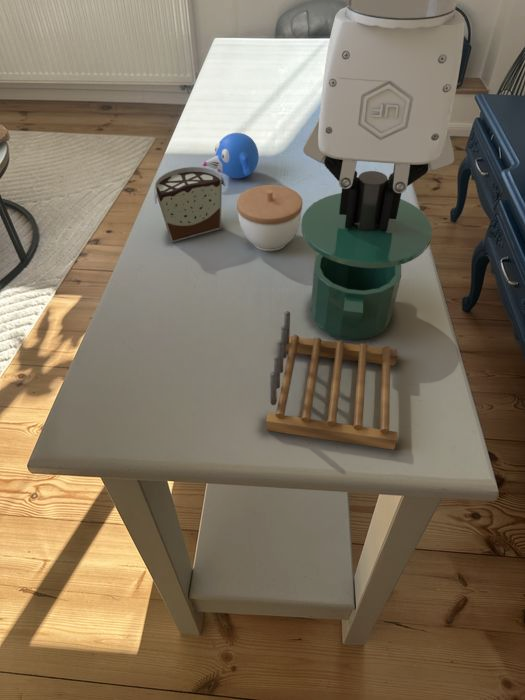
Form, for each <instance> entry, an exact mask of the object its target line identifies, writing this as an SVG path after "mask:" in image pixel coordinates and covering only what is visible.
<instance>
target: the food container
mask: <svg viewBox="0 0 525 700" xmlns="http://www.w3.org/2000/svg"><path fill="white" fill-rule="evenodd" d="M223 187H226V183H225V180H224V178H223V176H222V173H220V172H218V171H216V170H215V169H213V168H209V167H208V168H207V167H204V166H187V167H180V168H176V169H172V170H169V171H167V172H165V173H163V174H162V175H161V176H159V178H158V179H156V181H155V183H154V188H153V201H154V204H155V205H156V204H157V203H158V205H159V207H160V210H161V214H162V217H163V220H164V223H165V226H166V229H167V233H168V236H169V240H170V242H171V243H176V242H179V241H183V240H186V239H189V238H193V237H197V236H201V235H204V234H207V233H211V232H214V231H217V230H221V229H222V199H223V198H222V196H223V195H222V193H223V192H222V191H223ZM157 200H158V202H157Z"/></svg>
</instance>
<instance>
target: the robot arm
mask: <svg viewBox="0 0 525 700" xmlns="http://www.w3.org/2000/svg"><path fill="white" fill-rule="evenodd" d="M457 3H458V0H346V3H345V7H343V8H341V9H339V10H338V12H337V13H336V14H335V16H334V20H333V24H332V28H331V32H330V36H329V41H328V46H327V52H326V56H325V65H324V73H323V80H322V81H323V82H322V88H321V89H322V90H321V97H320V98H321V99H320V106H319V107H320V108H319V117H318V118H317V120H316V122H315V124H314V126H313V128H312V130H311V131H310V133H309V135H308V136H307V139H306V141H305V143H304V147H303V154H305V155H306V156H307V157H309V158H311V159H312V160H315V161H316V162H318V163H319V164H320V163H321V164H323V165H324V167H325V168H326V169H327V170H328V171H329V172H330V173H331V174H332V176H333V177H334V178H335V179H336V180H337V182H338V185H339V187H340V188H341V192H340V193H341V201H340V211H339V214H340V215H346V222H345V228H350V227H352V226H353V218H354V211H355V204H356V196H357V189H358V177H359V176H358V172H357V170H356V168H357V164H358V163H357V162H367V163H378V164H379V163H381V164H393V171H392V172H391V173H390V174H389V176H388V180H387V186H386V191H385V196H384V202H383V207H382V213H381V218H380V225H379V229H381V231H387V228H388V222H389V219H396V217H397V213H398V208H399V203H400V199H402V193H404V192H405V191H406V190H407V188H408V186H410V185H412V184H413V183H415V182H417V181H418V179H420V178H422V177H423V176H425V175H426V174H427V173H428V172H433V171H436V170H439V169H442V168H445V167H447V166H450V165H452V164H453V163H454V161H455V155H454V154H455V152H454V148H453V144H452V141H451V135H450V131H449V126H450V121H451V117H452V113H453V112H452V111H453V106H454V101H455V97H456V92H457V86H458V80H459V74H460V69H461V62H462V56H463V47H464V39H465V38H464V37H465V23H466V22H465V20H466V18H465V17H464V16H463V15H462V13H461V12H459V10H457V9H456V7H457Z"/></svg>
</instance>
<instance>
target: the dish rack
mask: <svg viewBox="0 0 525 700" xmlns="http://www.w3.org/2000/svg"><path fill="white" fill-rule="evenodd" d="M283 321H284V323H283V324H282V326H281V327H280V329H281V330H280V339H279V340H278V341H277V354H276V355H274V358H273V371H272V372H271V373H270V375H269V376H270V377H269V381H270V383H269V384H270V387H269V388H270V393H269V395H270V396H269V397H270V405H271V406H275V405H277V406H276V412H275V413H272V412H268V413H267V416H266V420H265V421H266V422H265V425H266V429H265V430H266V431H268V432H275V433H282V434H286V435H288V434H289V435H295V436H300V437H306V438H314V439H319V440H320V439H321V440H327V441H332V442H341V443H347V444H353V445H354V444H355V445H359V446H367V447H373V448H380V449H387V450H395V448H396V445H397V442H398V431H394V430H390V410H391V407H390V405H391V402H390V401H391V400H390V399H391V366H392V367H394V366H396V363H397V359H398V349H396V348H391V347H390V346H388V345H385V346H383V347H379V346H371V345H367V344H366V343H360V344H355V343H347V342H344V340H337V341H332V340H331V341H330V340H323V339H322V338H320V337H315V338H308V337H307V338H306V337H300V336H299V335H298V334H293V335H292V336H290V332H291V329H290V328H291V312H290V311H288V310H287V311H284V320H283ZM287 353H288V354H287ZM297 354H299V355H306V356H307V355H308V356H311V357H310V362H309V368H308V375H307V381H306V386H305V391H304V400H303V405H302V412H301V417H299V416H292V415H285V414H286V409H287V403H288V400H289V399H288V398H289V393H290V387H291V383H292V377H293V372H294V367H295V362H296V357H297ZM320 357H321V358H322V357H323V358H330V359H334V361H333V370H332V379H331V387H330V395H329V404H328V411H327V420H318V419H314V418H313V419H311V416H312V410H313V409H312V408H313V401H314V395H315V387H316V381H317V375H318V368H319V360H320ZM286 358H287V359H286ZM284 359H286V362H285V363H286V364H285V367H284ZM343 360H344V361H345V360H346V361H354V362H357V371H356V373H357V374H356V375H357V376H356V385H355V386H356V387H355V401H354V412H353V413H354V414H353V424H346V423H339V422H337V418H338V417H337V416H338V408H339V397H340V388H341V379H342V370H343ZM367 363H370V364H377V365H381V384H380V385H381V388H380V389H381V392H380V418H379V419H380V421H379V422H380V423H379V428H374V427H368V426H367V427H366V426H363V425H364V405H365V392H366V391H365V390H366V389H365V388H366V372H367V370H366V369H367ZM283 372H284V373H283ZM281 374H283V378H282V382H281ZM280 387H281V388H280ZM278 389H280V392H279V397H278V402H277V390H278Z"/></svg>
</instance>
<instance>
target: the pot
mask: <svg viewBox="0 0 525 700" xmlns="http://www.w3.org/2000/svg"><path fill="white" fill-rule="evenodd" d="M312 276H313V277H312V288H311V289H312V290H311V301H310V314H311V317H312V319H313V321H314V323H315V324H316V326H317V327H318V328H319V329H321V330H322V331H323V332H324V333H326V334H327V335H330V336H331V337H332V336H333V337H335V338H338V339H342V340H347V341H362V340H367V339H368V340H369V339H371V338H373V337H377V336H378V335H379V334H381V333H382V332H384V331H385V330H386V329H387V327H388V325H389V324H390V321H391V320H392V316H393V311H394V308H395V303H396V301H397V300H396V299H397V296H398V291H399V287H400V283H401V279H402V264H401V265H397V266H392V267H385V268H360V267H353V266H349V265H344V264H341V263H338V262H335V261H332V260H330V259H327V258H325V257H324V256H322V255H320V254H319V253H317V255H316V256H315V260H314V265H313V275H312Z"/></svg>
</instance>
